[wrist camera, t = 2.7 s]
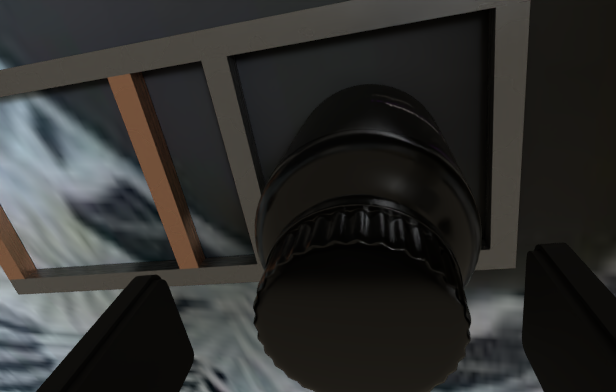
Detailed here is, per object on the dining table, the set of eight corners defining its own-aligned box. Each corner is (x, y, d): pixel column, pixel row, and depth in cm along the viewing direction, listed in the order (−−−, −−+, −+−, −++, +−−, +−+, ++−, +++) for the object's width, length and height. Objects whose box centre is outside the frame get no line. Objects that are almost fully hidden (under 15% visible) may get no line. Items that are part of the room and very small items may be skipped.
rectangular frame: (522, -33, 15) (532, -36, 14) (509, 256, 20) (515, 267, 20) (-86, 87, 21) (-106, 91, 20) (30, 284, 27) (18, 294, 26)
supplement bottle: (450, 81, 17) (580, 207, 7) (429, 217, 20) (495, 455, 10) (296, 78, 18) (190, 184, 7) (298, 208, 21) (225, 417, 10)
